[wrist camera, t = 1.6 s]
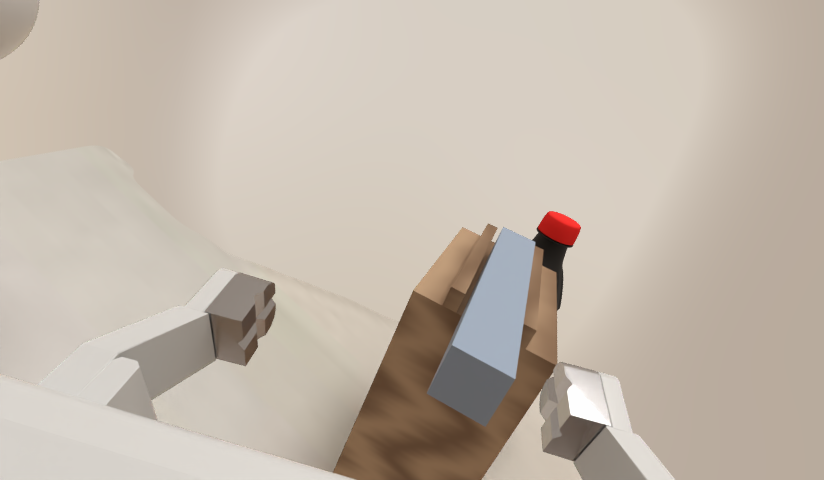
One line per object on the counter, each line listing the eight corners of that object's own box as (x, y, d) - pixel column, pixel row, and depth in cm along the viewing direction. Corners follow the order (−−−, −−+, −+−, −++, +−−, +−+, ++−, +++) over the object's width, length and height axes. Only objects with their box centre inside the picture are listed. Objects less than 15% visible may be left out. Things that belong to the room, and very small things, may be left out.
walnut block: (310, 523, 37) (421, 271, 26) (379, 407, 52) (468, 214, 41) (408, 588, 36) (569, 347, 25) (451, 449, 50) (564, 259, 39)
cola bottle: (447, 379, 61) (544, 197, 49) (494, 420, 57) (612, 233, 45) (412, 403, 54) (516, 200, 43) (463, 452, 50) (593, 242, 39)
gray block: (426, 393, 19) (451, 344, 18) (488, 255, 37) (503, 226, 36) (485, 426, 19) (515, 379, 18) (519, 270, 37) (535, 242, 36)
